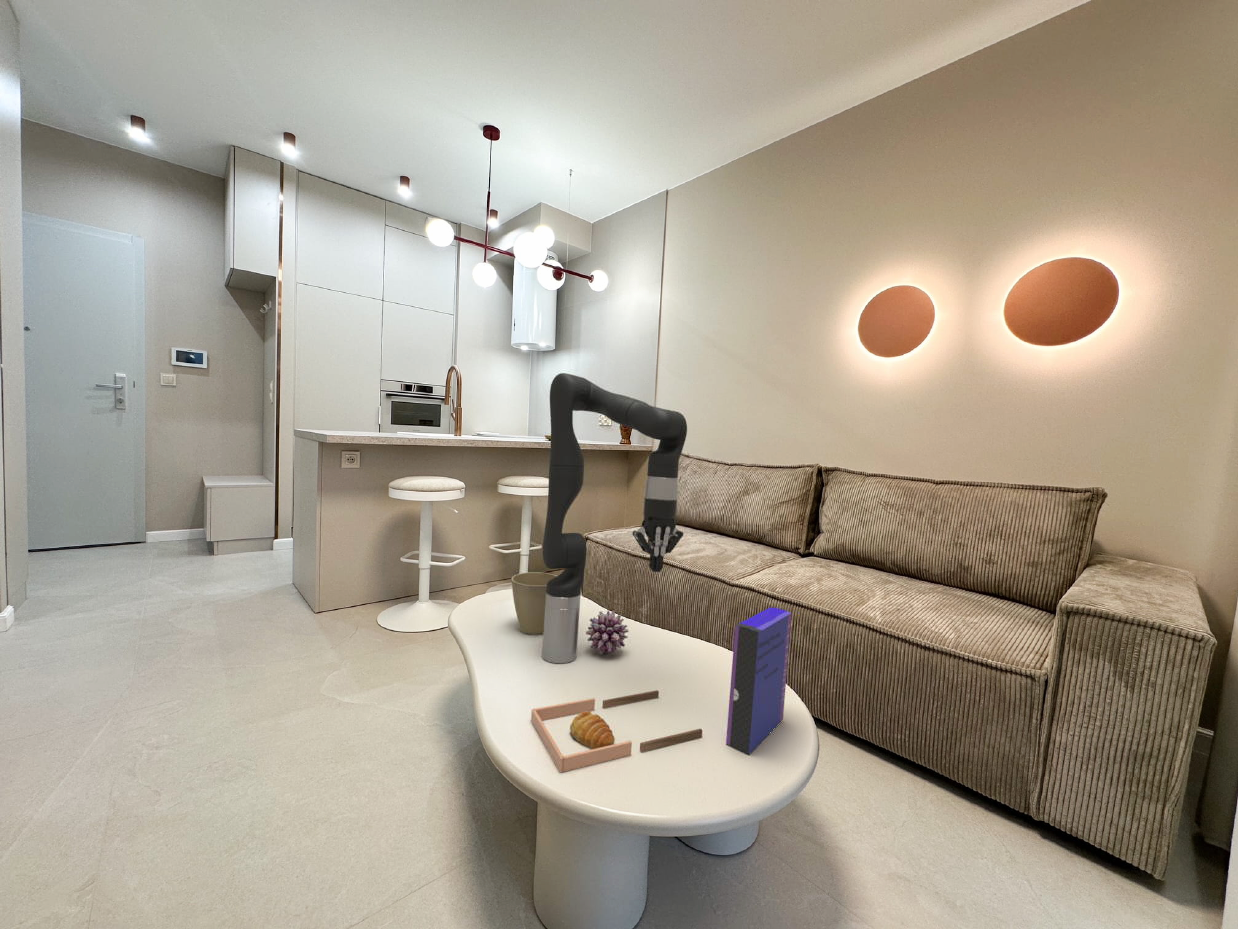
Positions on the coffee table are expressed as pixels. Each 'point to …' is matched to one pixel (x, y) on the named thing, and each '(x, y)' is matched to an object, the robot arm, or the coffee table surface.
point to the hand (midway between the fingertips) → (655, 571)
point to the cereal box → (758, 678)
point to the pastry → (591, 730)
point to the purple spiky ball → (607, 632)
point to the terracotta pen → (578, 758)
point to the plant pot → (530, 600)
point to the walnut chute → (656, 742)
